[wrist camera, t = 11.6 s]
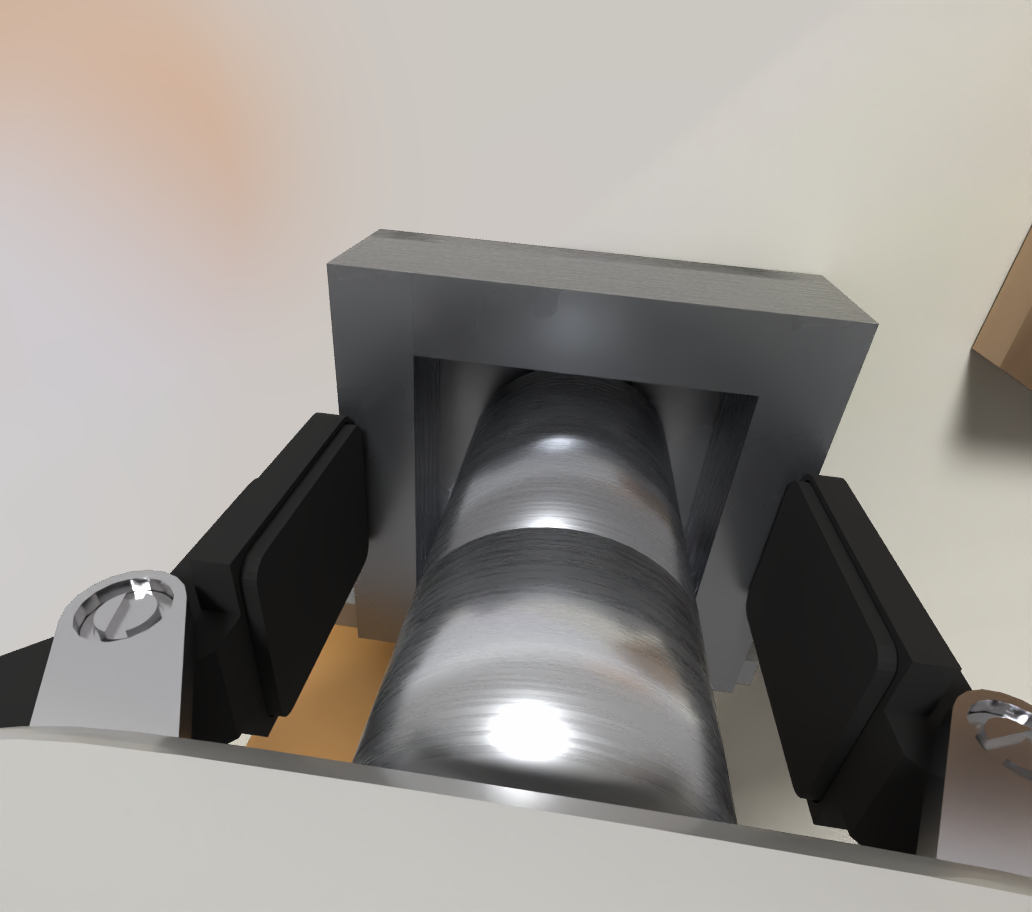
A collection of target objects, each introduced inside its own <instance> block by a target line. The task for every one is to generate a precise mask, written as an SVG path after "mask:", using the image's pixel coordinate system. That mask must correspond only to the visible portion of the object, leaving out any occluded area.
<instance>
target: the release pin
mask: <svg viewBox="0 0 1032 912" xmlns="http://www.w3.org/2000/svg"><path fill="white" fill-rule="evenodd" d="M395 644H396V643H390V642H384V641H377V640H370V639H363V638H358V630H357V628H356V627H349V626H342V625H336V624H335V625H334V627H333V629H332V631H331V633H330V635H329V637H328V639H327V641H326V643H325V645H324V647H323V649H322V651H321V653H320V655H319V657H318V659H317V661H316V663H315V665H314V667H313V669H312V671H311V673H310V675H309V677H308V679H307V681H306V683H305V685H304V687H303V689H302V691H301V693H300V696H299V698H298V700H297V702H296V704H295V706H294V708H293V709H292V711H291V713H290V714H289V715H288V716H286V717H281V716H278V718H277V720H276V722H275V724H274V726H273V728H272V730H271V732H270V734H269V736H268V737H262V736H256V735H252V736H251V738H250V739H249V741H248V743H247V745H246V747H252V748H259V749H265V750H271V751H278V752H284V753H291V754H297V755H304V756H310V757H317V758H323V759H330V760H336V761H343V762H349V763H352V761H353V758H354V755H355V753H356V750H357V747H358V744H359V742H360V739H361V736H362V734H363V731H364V728H365V725H366V723H367V720H368V717H369V715H370V712H371V709H372V706H373V704H374V701H375V698H376V696H377V693H378V690H379V688H380V685H381V682H382V679H383V677H384V674H385V671H386V669H387V666H388V663H389V660H390V658H391V655H392V652H393V650H394V647H395Z"/></svg>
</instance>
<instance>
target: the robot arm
mask: <svg viewBox="0 0 1032 912" xmlns="http://www.w3.org/2000/svg"><path fill="white" fill-rule="evenodd" d="M368 549H369V537H368V522H367V506H366V490H365V475H364V459H363V443H362V431H361V428H360V426H357V425H352V421H351V419H350V417H349V416H342V415H334V414H326V413H315V414H314V415H313V416H312V417H311V418H310V420H308V422H307V423H306V424H305V425H304V426H303V427H302V428H301V430H300V431H299V432H298V433H297V434H296V435H295V436H294V438H293V439H292V440H291V441H290V442H289V443H288V444H287V446H286V447H285V448H284V449H283V450H282V451H281V452H280V454H279V455H278V456H277V457H276V458H275V459H274V461H273V462H272V463H271V464H270V465H269V466H268V467H267V469H266V470H265V471H264V472H263V473H262V474H261V475H260V477H259V478H257V479H255V480H253V481H252V482H251V483H250V484H249V485H248V486H247V487H246V488H245V490H244V491H243V492H242V493H241V494H240V495H239V496H238V497H237V499H236V500H235V501H234V502H233V503H232V504H231V505H230V507H229V508H228V509H227V510H226V511H225V512H224V513H223V514H222V515H221V517H220V518H219V519H218V520H217V521H216V522H215V523H214V524H213V526H212V527H211V528H210V529H209V530H208V531H207V533H206V534H205V535H204V536H203V537H202V538H201V539H200V540H199V541H198V543H197V544H196V545H195V546H194V547H193V548H192V550H190V552H189V553H188V554H187V555H186V556H185V557H184V558H183V560H182V561H181V562H180V563H179V564H178V565H177V566H176V568H175V569H174V570H173V571H172V572H171V573H170V574H168V573H166V572H162V571H153V570H144V571H132V572H127V573H124V574H120V575H116V576H112V577H110V578H108V579H105V580H103V581H101V582H99V583H97V584H94V585H92V586H91V587H90V588H88V589H87V590H85V591H83V592H82V593H80V594H79V595H78V596H77V597H76V598H75V599H74V600H73V601H72V602H71V603H70V604H69V605H68V606H67V607H66V608H65V610H64V612H63V614H62V615H61V617H60V619H59V622H58V625H57V629H56V632H55V636H54V637H52V638H49V639H46V640H44V641H41V642H38V643H35V644H33V645H30V646H27V647H25V648H22V649H19V650H16V651H13V652H11V653H8V654H5V655H2V656H0V912H1032V705H1030V704H1028V703H1026V702H1025V701H1023V700H1020V699H1018V698H1015V697H1012V696H1009V695H1007V694H1004V693H1001V692H995V691H989V690H984V689H981V690H972V689H971V687H970V686H969V684H968V683H967V681H966V679H965V678H964V676H963V674H962V673H961V669H962V668H961V667H960V665H959V664H958V662H957V660H956V659H955V657H954V655H953V654H952V652H951V651H950V649H949V647H948V646H947V644H946V643H945V641H944V639H943V638H942V636H941V634H940V633H939V631H938V630H937V628H936V626H935V625H934V623H933V621H932V620H931V618H930V617H929V615H928V613H927V612H926V610H925V609H924V607H923V605H922V604H921V602H920V600H919V599H918V597H917V596H916V594H915V592H914V591H913V589H912V587H911V586H910V584H909V583H908V581H907V579H906V578H905V576H904V575H903V573H902V571H901V570H900V568H899V566H898V565H897V563H896V562H895V560H894V558H893V557H892V555H891V554H890V552H889V550H888V549H887V547H886V545H885V544H884V542H883V541H882V539H881V537H880V536H879V534H878V532H877V531H876V529H875V528H874V526H873V524H872V523H871V521H870V520H869V518H868V516H867V515H866V513H865V511H864V510H863V508H862V507H861V505H860V503H859V502H858V500H857V498H856V497H855V495H854V494H853V492H852V490H851V489H850V487H849V486H848V484H847V482H846V481H845V480H844V479H843V478H838V477H830V476H822V475H814V474H806V475H804V476H803V477H802V478H801V480H800V481H795V480H794V481H792V482H791V483H790V484H789V486H788V488H787V491H786V494H785V496H784V499H783V502H782V504H781V507H780V510H779V512H778V515H777V518H776V520H775V523H774V526H773V529H772V531H771V534H770V537H769V539H768V542H767V545H766V547H765V550H764V553H763V555H762V558H761V561H760V563H759V566H758V569H757V572H756V574H755V577H754V580H753V582H752V585H751V588H750V590H749V593H748V596H747V601H746V615H747V620H748V623H749V627H750V631H751V634H752V638H753V642H754V645H755V649H756V653H757V656H758V660H759V664H760V667H761V671H762V674H763V678H764V682H765V685H766V689H767V693H768V696H769V700H770V704H771V707H772V711H773V715H774V718H775V722H776V726H777V729H778V733H779V737H780V740H781V744H782V748H783V751H784V755H785V759H786V762H787V766H788V770H789V773H790V777H791V781H792V784H793V787H794V790H795V792H796V794H797V796H799V797H800V798H804V799H807V803H808V806H809V810H810V813H811V817H812V820H813V824H815V825H821V826H827V827H833V828H840V829H846V830H848V833H849V835H850V836H851V837H852V838H853V839H854V840H855V841H856V842H858V843H857V845H856V844H850V843H844V842H838V841H832V840H826V839H820V838H814V837H808V836H802V835H796V834H790V833H784V832H778V831H772V830H766V829H760V828H754V827H748V826H742V825H736V824H730V823H724V822H718V821H712V820H706V819H700V818H694V817H688V816H682V815H676V814H670V813H664V812H657V811H651V810H645V809H639V808H633V807H626V806H620V805H614V804H608V803H602V802H595V801H589V800H583V799H577V798H571V797H564V796H558V795H552V794H546V793H539V792H533V791H527V790H521V789H514V788H508V787H502V786H496V785H489V784H483V783H477V782H471V781H464V780H458V779H452V778H446V777H439V776H433V775H426V774H420V773H414V772H407V771H401V770H394V769H388V768H381V767H375V766H368V765H362V764H355V763H349V762H343V761H336V760H330V759H323V758H317V757H310V756H304V755H297V754H291V753H284V752H278V751H271V750H265V749H259V748H252V747H245V746H237V745H230V744H228V743H230V742H232V741H234V740H236V739H238V738H239V737H240V735H241V734H242V733H243V734H250V735H256V736H262V737H268V736H269V734H270V732H271V730H272V728H273V726H274V724H275V722H276V720H277V718H278V716H281V717H286V716H288V715H289V714H290V713H291V711H292V709H293V708H294V706H295V704H296V702H297V700H298V698H299V696H300V693H301V691H302V689H303V687H304V685H305V683H306V681H307V679H308V677H309V675H310V673H311V671H312V669H313V667H314V665H315V663H316V661H317V659H318V657H319V655H320V653H321V651H322V649H323V647H324V645H325V643H326V641H327V639H328V637H329V635H330V633H331V631H332V629H333V627H334V625H335V623H336V621H337V619H338V617H339V615H340V613H341V611H342V609H343V607H344V605H345V603H346V601H347V599H348V596H349V594H350V592H351V590H352V588H353V586H354V584H355V582H356V580H357V578H358V576H359V574H360V572H361V570H362V568H363V566H364V564H365V562H366V559H367V555H368Z"/></svg>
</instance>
